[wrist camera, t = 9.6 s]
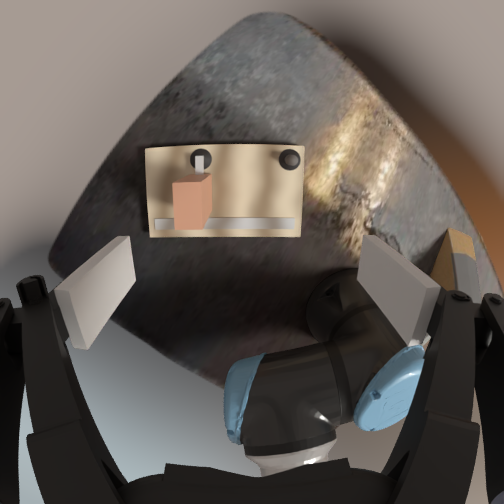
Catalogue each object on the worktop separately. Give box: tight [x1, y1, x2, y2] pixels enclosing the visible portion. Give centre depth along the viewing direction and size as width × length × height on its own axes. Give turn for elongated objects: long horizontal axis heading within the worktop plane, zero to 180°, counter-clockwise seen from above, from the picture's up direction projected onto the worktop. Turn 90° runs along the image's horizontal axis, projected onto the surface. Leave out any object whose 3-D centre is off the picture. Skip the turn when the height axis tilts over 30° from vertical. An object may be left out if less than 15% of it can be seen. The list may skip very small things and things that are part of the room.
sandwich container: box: [430, 228, 482, 303], centre depth 39 cm, size 9×15×15 cm, turn 167°
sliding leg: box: [172, 156, 212, 230], centre depth 33 cm, size 3×8×10 cm, turn 179°
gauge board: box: [145, 144, 304, 237], centre depth 38 cm, size 22×13×4 cm, turn 89°
